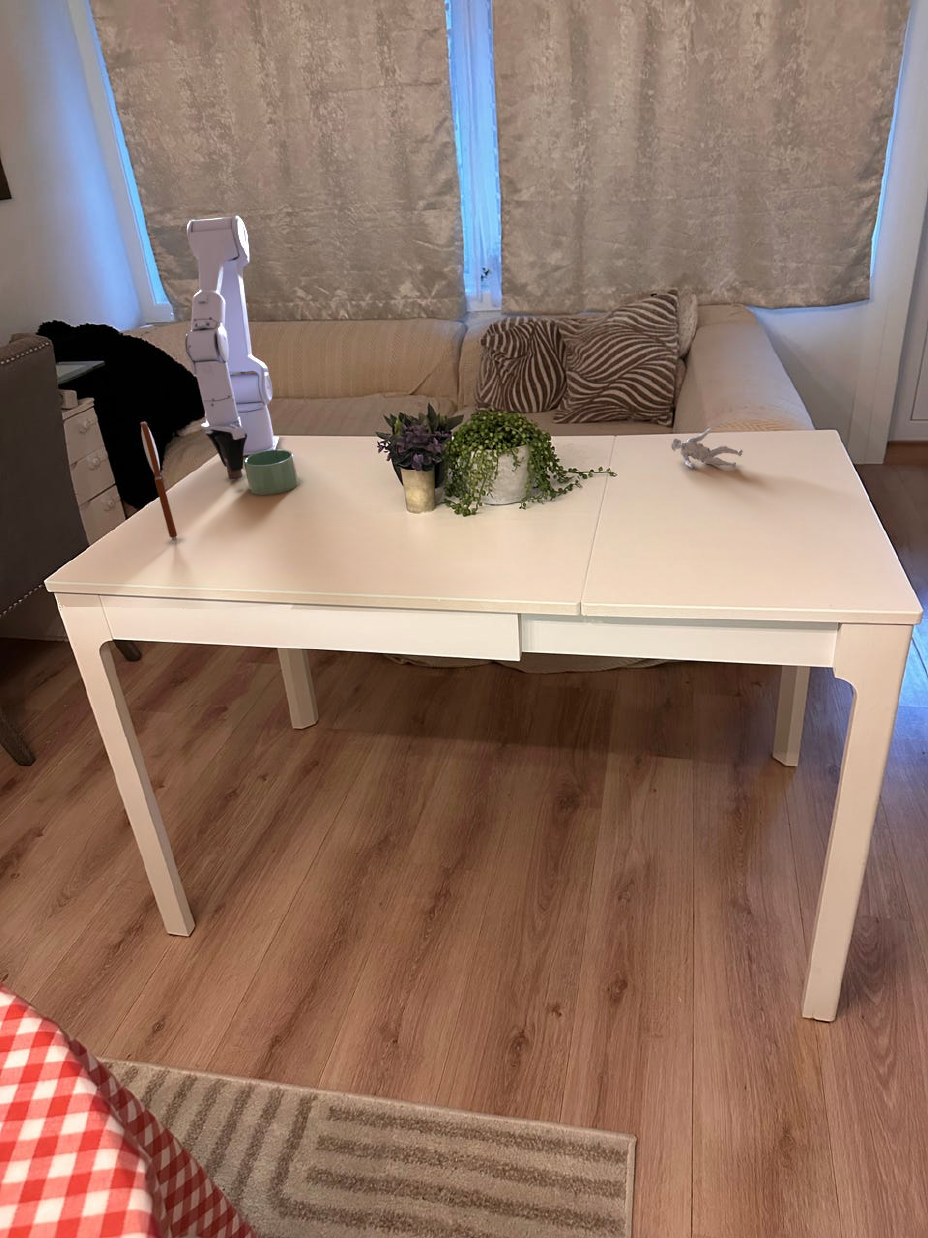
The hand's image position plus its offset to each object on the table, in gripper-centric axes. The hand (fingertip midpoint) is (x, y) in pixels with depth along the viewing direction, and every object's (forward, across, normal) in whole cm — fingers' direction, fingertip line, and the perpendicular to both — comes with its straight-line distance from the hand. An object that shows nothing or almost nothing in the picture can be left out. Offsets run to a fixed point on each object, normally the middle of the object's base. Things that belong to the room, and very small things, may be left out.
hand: (233, 467), depth 173 cm
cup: (+2, +10, +4) cm, 11 cm away
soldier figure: (+2, +59, +64) cm, 87 cm away
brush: (+2, 0, 0) cm, 2 cm away
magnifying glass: (+2, +21, -19) cm, 29 cm away
